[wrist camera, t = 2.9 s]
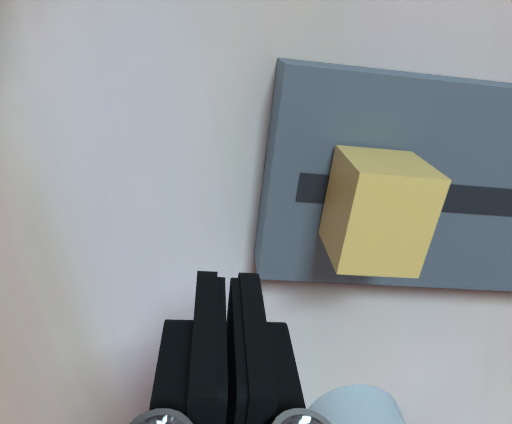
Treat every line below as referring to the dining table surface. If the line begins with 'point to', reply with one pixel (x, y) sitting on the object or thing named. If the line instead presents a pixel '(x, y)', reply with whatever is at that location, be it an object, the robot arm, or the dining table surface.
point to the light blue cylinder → (358, 406)
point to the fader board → (393, 138)
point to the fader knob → (380, 211)
